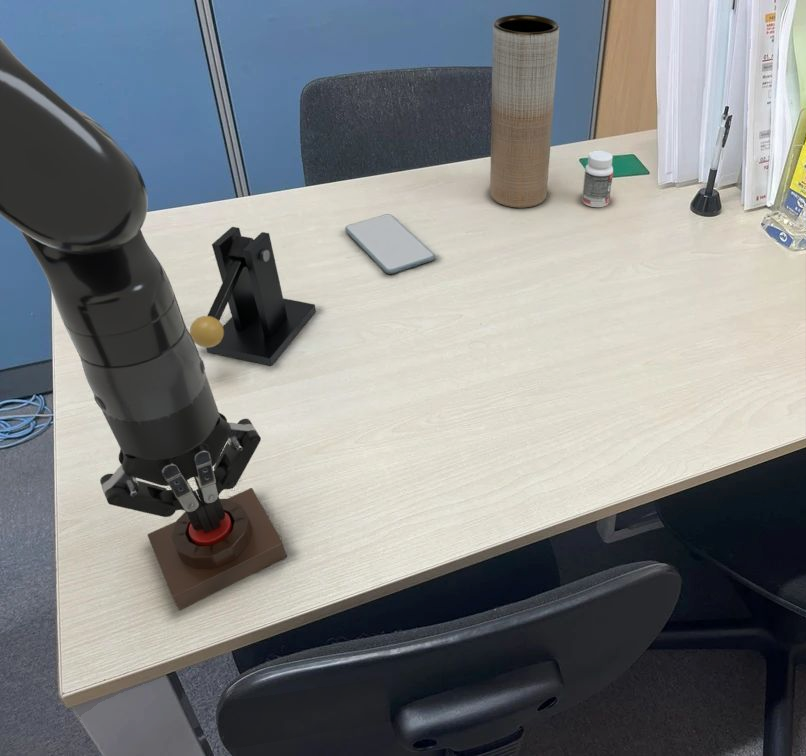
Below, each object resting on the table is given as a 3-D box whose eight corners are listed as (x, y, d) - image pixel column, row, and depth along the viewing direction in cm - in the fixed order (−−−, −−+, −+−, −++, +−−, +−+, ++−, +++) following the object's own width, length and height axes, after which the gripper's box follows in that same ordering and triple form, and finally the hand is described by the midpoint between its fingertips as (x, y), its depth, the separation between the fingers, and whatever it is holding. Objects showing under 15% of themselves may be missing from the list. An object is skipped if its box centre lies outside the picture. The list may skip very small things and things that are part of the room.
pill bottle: (611, 207, 120) (618, 161, 115) (584, 208, 120) (590, 161, 114) (605, 194, 124) (611, 149, 118) (579, 195, 124) (584, 149, 118)
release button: (200, 559, 63) (195, 548, 62) (188, 532, 65) (183, 520, 64) (240, 541, 65) (235, 529, 64) (226, 514, 67) (222, 503, 66)
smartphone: (387, 271, 102) (343, 225, 111) (388, 277, 103) (343, 231, 112) (437, 255, 106) (390, 212, 115) (437, 260, 106) (390, 217, 115)
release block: (179, 611, 62) (166, 586, 59) (154, 547, 67) (140, 522, 64) (287, 556, 67) (279, 531, 64) (256, 501, 71) (247, 475, 69)
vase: (547, 184, 126) (560, 16, 108) (545, 210, 119) (558, 35, 101) (493, 180, 127) (496, 12, 108) (487, 206, 119) (489, 31, 101)
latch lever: (222, 355, 81) (207, 341, 78) (194, 349, 81) (178, 335, 78) (267, 252, 86) (255, 235, 83) (241, 248, 87) (228, 231, 83)
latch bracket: (271, 366, 87) (248, 271, 78) (207, 352, 89) (176, 258, 79) (316, 311, 96) (299, 220, 87) (256, 299, 97) (234, 209, 88)
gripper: (222, 327, 58) (264, 467, 69) (44, 388, 52) (122, 529, 63) (256, 378, 53) (295, 518, 65) (65, 450, 47) (145, 590, 59)
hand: (209, 523), depth 64 cm, fingers closed
